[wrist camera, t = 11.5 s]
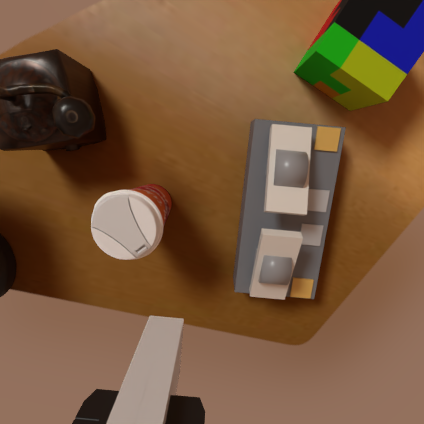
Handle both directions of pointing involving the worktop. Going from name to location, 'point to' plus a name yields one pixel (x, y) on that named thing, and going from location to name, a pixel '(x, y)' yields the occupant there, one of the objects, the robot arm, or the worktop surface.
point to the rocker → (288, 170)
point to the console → (308, 224)
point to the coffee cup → (130, 221)
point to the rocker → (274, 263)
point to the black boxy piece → (48, 103)
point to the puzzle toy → (365, 50)
